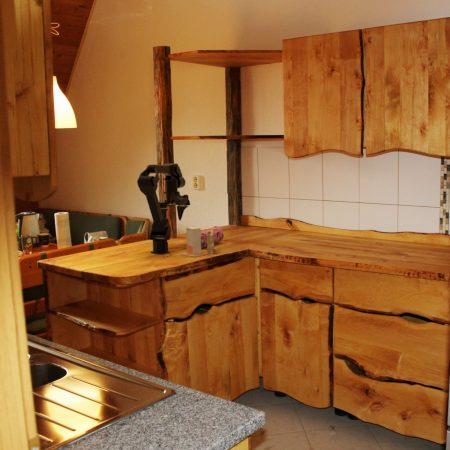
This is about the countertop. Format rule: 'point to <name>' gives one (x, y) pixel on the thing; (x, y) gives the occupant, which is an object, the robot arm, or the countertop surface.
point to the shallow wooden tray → (210, 242)
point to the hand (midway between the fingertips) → (172, 221)
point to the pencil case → (217, 236)
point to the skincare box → (193, 240)
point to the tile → (194, 255)
